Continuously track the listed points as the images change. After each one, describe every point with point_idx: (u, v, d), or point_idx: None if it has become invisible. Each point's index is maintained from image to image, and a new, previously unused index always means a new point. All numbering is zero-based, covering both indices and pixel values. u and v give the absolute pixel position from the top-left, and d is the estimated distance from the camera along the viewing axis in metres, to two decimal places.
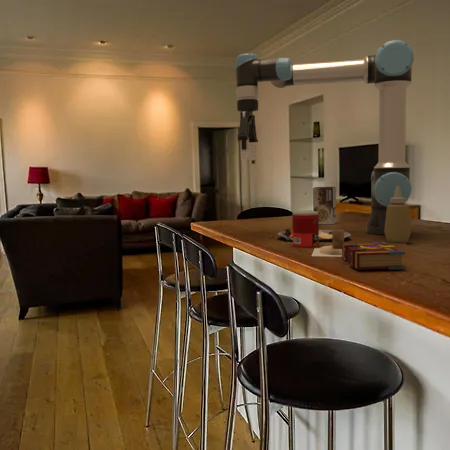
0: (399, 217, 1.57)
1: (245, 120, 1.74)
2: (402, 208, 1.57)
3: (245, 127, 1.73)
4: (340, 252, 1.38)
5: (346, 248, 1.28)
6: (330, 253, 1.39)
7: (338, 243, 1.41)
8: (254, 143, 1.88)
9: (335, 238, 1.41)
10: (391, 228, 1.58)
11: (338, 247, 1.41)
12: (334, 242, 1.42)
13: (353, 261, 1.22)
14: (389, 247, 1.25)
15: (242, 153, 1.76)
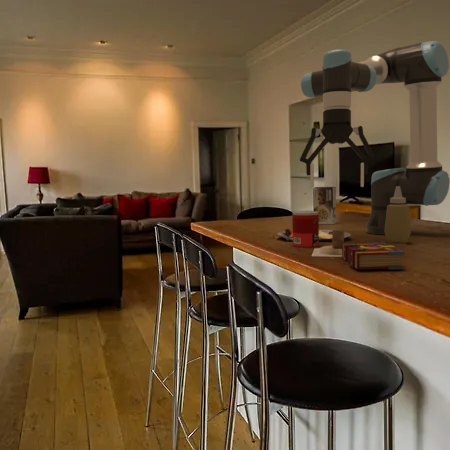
0: (399, 217, 1.57)
1: (309, 139, 1.41)
2: (402, 208, 1.57)
3: None
4: (340, 252, 1.38)
5: (346, 248, 1.28)
6: (330, 253, 1.39)
7: (338, 243, 1.41)
8: None
9: (335, 238, 1.41)
10: (391, 228, 1.58)
11: (338, 247, 1.41)
12: (334, 242, 1.42)
13: (353, 261, 1.22)
14: (389, 247, 1.25)
15: None
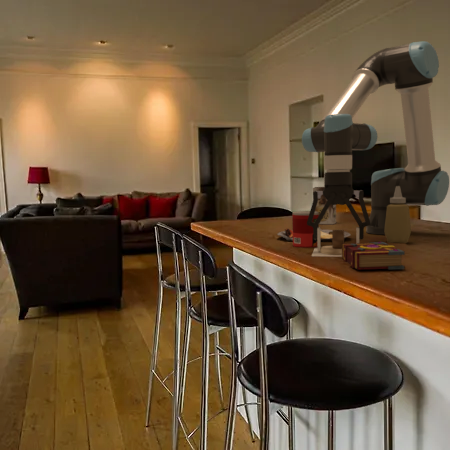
0: (399, 217, 1.57)
1: (312, 203, 1.42)
2: (402, 208, 1.57)
3: None
4: (340, 252, 1.38)
5: (346, 248, 1.28)
6: (330, 253, 1.39)
7: (338, 243, 1.41)
8: (356, 229, 1.40)
9: (335, 238, 1.41)
10: (391, 228, 1.58)
11: (338, 247, 1.41)
12: (334, 242, 1.42)
13: (353, 261, 1.22)
14: (389, 247, 1.25)
15: None
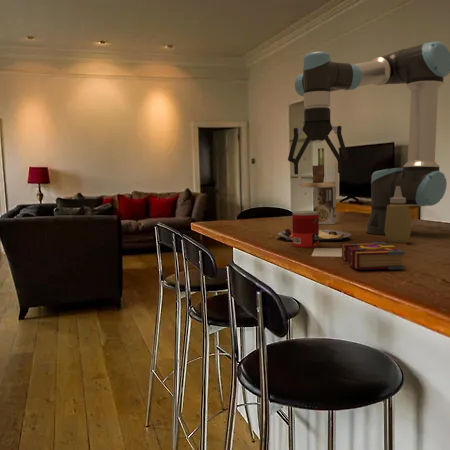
0: (399, 217, 1.57)
1: (293, 139, 1.49)
2: (402, 208, 1.57)
3: None
4: (320, 184, 1.45)
5: (346, 248, 1.28)
6: (310, 186, 1.46)
7: (318, 177, 1.48)
8: (335, 163, 1.47)
9: (315, 173, 1.48)
10: (391, 228, 1.58)
11: (318, 181, 1.48)
12: (314, 176, 1.48)
13: (353, 261, 1.22)
14: (389, 247, 1.25)
15: None
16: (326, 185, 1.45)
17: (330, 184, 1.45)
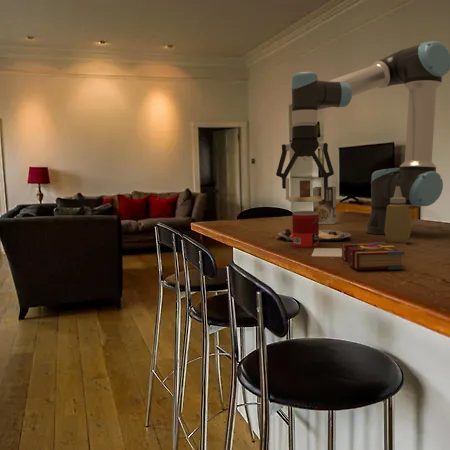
0: (399, 217, 1.57)
1: (281, 155, 1.55)
2: (402, 208, 1.57)
3: None
4: (305, 199, 1.50)
5: (346, 248, 1.28)
6: (296, 200, 1.51)
7: (304, 192, 1.53)
8: (321, 179, 1.53)
9: (301, 187, 1.54)
10: (391, 228, 1.58)
11: (304, 195, 1.54)
12: (301, 191, 1.54)
13: (353, 261, 1.22)
14: (389, 247, 1.25)
15: None
16: (312, 200, 1.50)
17: (316, 199, 1.51)
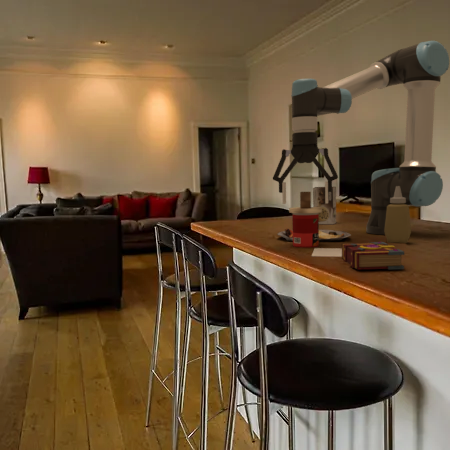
0: (399, 217, 1.57)
1: (280, 160, 1.55)
2: (402, 208, 1.57)
3: None
4: (306, 210, 1.51)
5: (346, 248, 1.28)
6: (297, 212, 1.52)
7: (305, 203, 1.54)
8: (325, 183, 1.53)
9: (302, 199, 1.54)
10: (391, 228, 1.58)
11: (305, 207, 1.54)
12: (301, 202, 1.55)
13: (353, 261, 1.22)
14: (389, 247, 1.25)
15: None
16: (312, 211, 1.51)
17: (316, 210, 1.51)
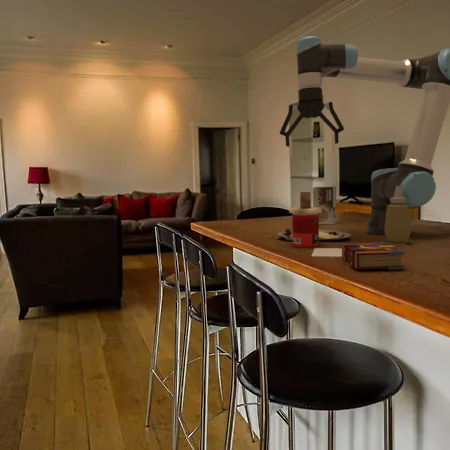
0: (399, 217, 1.57)
1: (287, 115, 1.63)
2: (403, 208, 1.57)
3: None
4: (306, 211, 1.51)
5: (346, 248, 1.28)
6: (297, 212, 1.52)
7: (305, 203, 1.54)
8: (332, 135, 1.61)
9: (302, 199, 1.54)
10: (391, 228, 1.58)
11: (305, 207, 1.54)
12: (301, 202, 1.54)
13: (353, 261, 1.22)
14: (389, 247, 1.25)
15: None
16: (312, 211, 1.51)
17: (316, 210, 1.51)
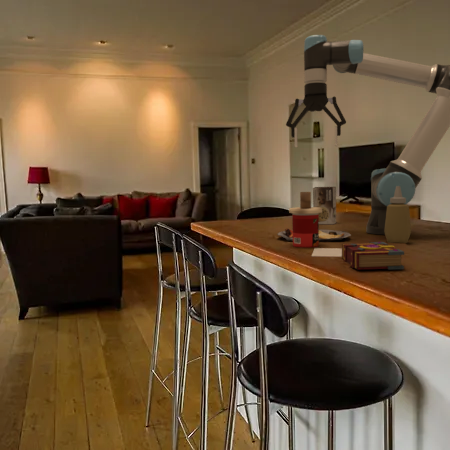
0: (399, 217, 1.57)
1: (293, 108, 1.75)
2: (403, 208, 1.57)
3: (290, 115, 1.75)
4: (306, 211, 1.51)
5: (346, 248, 1.28)
6: (297, 212, 1.52)
7: (305, 203, 1.54)
8: None
9: (302, 199, 1.54)
10: (391, 228, 1.58)
11: (305, 207, 1.54)
12: (301, 202, 1.54)
13: (353, 261, 1.22)
14: (389, 247, 1.25)
15: None
16: (312, 211, 1.51)
17: (316, 210, 1.51)
